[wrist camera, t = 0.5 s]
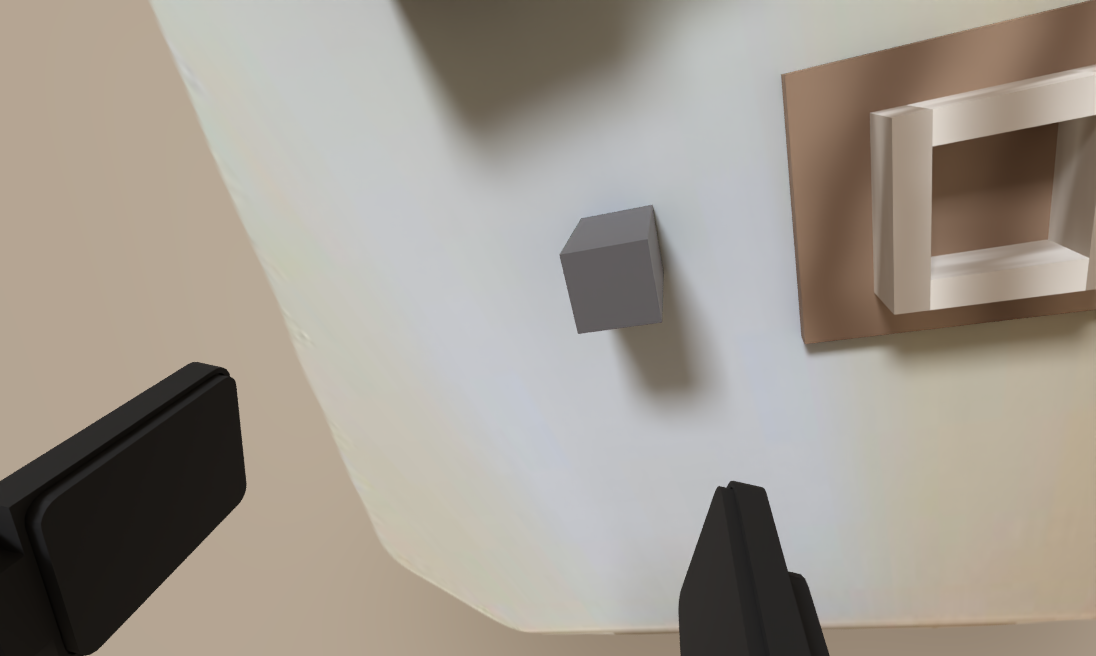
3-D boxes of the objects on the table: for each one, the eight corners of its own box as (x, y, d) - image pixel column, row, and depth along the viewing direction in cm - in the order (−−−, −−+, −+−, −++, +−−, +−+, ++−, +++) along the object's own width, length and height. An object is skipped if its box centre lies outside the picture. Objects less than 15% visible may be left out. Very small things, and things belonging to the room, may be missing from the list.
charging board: (1332, -58, 22) (1461, -83, 18) (1254, 281, 27) (1342, 313, 23) (781, 74, 27) (797, 75, 24) (801, 336, 32) (817, 369, 29)
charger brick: (652, 204, 31) (647, 239, 25) (663, 273, 33) (661, 322, 26) (581, 218, 32) (559, 254, 26) (595, 284, 34) (577, 333, 27)
